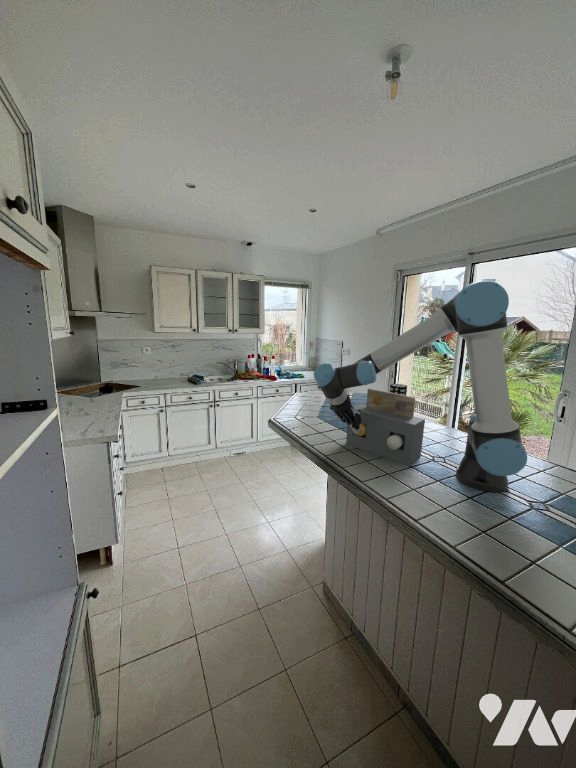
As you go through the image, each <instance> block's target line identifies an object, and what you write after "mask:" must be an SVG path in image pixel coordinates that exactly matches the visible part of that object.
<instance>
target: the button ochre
mask: <svg viewBox="0 0 576 768" xmlns="http://www.w3.org/2000/svg"><path fill="white" fill-rule="evenodd" d="M359 426H360V427H359V428H360V429H361V430H360V432H359V434H358V435H359V436H362V435H365V434H366V427H367V425H365V424H362V423H360V425H359Z"/></svg>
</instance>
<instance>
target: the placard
mask: <svg viewBox="0 0 576 768" xmlns="http://www.w3.org/2000/svg"><path fill="white" fill-rule="evenodd" d="M415 403H416V397H415V396H410V395H406V396H405V395H400V394H394V393H390V391H389V392H388V391H384V390H383V391H382V390H378V389H373V388H367V394H366V403H365V405H366V407H369V408H373V409H377V410H381V411H385V412H390V413H394V414H398V415H402V416H406V417H411V418H413V416H414V414H415V413H414V412H415Z"/></svg>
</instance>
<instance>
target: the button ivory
mask: <svg viewBox="0 0 576 768" xmlns="http://www.w3.org/2000/svg"><path fill="white" fill-rule="evenodd" d="M403 443H404V441H403V438H402V437H401V436H400V435H398V434H394V435H392V436H390V437H389V438H388V439H387V445H388V447H389V448H391V449H393V450H396V449H398V448H399V447H401V446H402V445H403Z"/></svg>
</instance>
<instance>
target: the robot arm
mask: <svg viewBox="0 0 576 768" xmlns="http://www.w3.org/2000/svg"><path fill="white" fill-rule="evenodd" d="M509 304H510V299H509V294H508V292H507V290H506V289H505V287H503V286H502V285H501V284H499V283H498V282H495V281H492V280H480V281H479V280H478V281H474V282H471V283H469V284H467V285H465V287H462V289H461V290H460V291H459V292H458V293H457V294H456V295H455V296H454V297H452V299H450V300H449V301H448V302H447V303H445V304H444V305H442V306H440V307H439V308H438V309H437V312H436V313H435V314H433V315H431V316H430V317H428V318H426V319H425V320H423V321H422V322H420V323H418V324H417V325H414V326H413V327H412V328H409V330H407V331H405V332H403V333H402V334H400V335H398V336H397V337H395V338H393V339H392V340H389V341H388V342H387V343H385V344H384V345H382V346H380V347H378V348H377V349H376V350H373V351H371V352H370V353H369V354H367V355H365V356H364V357H362V358H360V359H358V360H357V361H356V362H354V363H352V364H348V365H345V366H344V365H343V366H339V367H334V366H333V364H332V363H327V362H324V363H322V364H320V365H318V366H317V367H316V368H315V369H314V372H313V379H314V380H315V382H316V385H317V387H319V389H320V390H321V392H322V394H323V395H324V397H325V399H326V400H327V402H328V403H329V405H330V407H329V409H330V410H331V411H332V412H333V413H334V414H335V415H336V416H337V417H338V419H339V420H340V421H341V422H342V423H346V425H347V424H348V425H349V426H350V428H351V429H352V430H353V432H354V434H356V435H358V434H359V432H360V430H361V429H360V428H359V427H360V426H359V425H360V423H361V417H360V412H361V410H355V409H354V405H352V399H351V397H350V394H349V393H348V391H347V389H351V388H354V387H361V386H368V385H370V384H373V383H375V382H376V381H377V374H379V373H381V372H382V371H384V370H386V369H387V368H389V367H391V366H393V365H394V364H396V363H398V362H400V361H402V360H404V359H406V358H407V357H409V356H411V355H413V354H414V353H416V352H418V351H419V350H422V349H424V347H428V346H429V345H430V344H432V343H434V342H435V341H437V340H439V339H440V338H442V337H444V336H447V335H448V334H450V333H451V334H456V333H457V334H458V336H459V337H460V338H461V339H463V340H464V341H465V346H466V347H465V348H466V354H467V361H468V362H467V363H468V369H469V375H470V383H471V392H472V399H473V405H474V407H473V408H474V414H471V416H470V418H469V421H468V430H467V436H466V437H467V439H466V443H465V444H466V445H465V449H464V455H463V457H462V458H461V461H460V462H459V465H458V466H456V471H455V477H456V479H457V480H458V481H460V482H461V483H462V484H465V485H466V486H468V487H470V488H473V489H476V490H479V491H483V492H489V493H502V492H505V491H507V489H509V488H508V487H509V478H508V477H509V476H513V475H516V474H518V473H519V472H521V471H522V470H523V469H524V468H525V467H526V465H527V462H528V453H527V450H526V448H525V447H524V446H523V444H522V437H521V428H520V424H519V423H518V422H516V421H515V420H514V419H513V418H512V417H513V416H512V411H511V400H510V394H509V387H508V386H509V385H508V378H507V368H506V361H505V352H504V346H503V345H504V344H503V333H504V332H505V331H506V330H507V329H508V318H507V311H508V308H509Z"/></svg>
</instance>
